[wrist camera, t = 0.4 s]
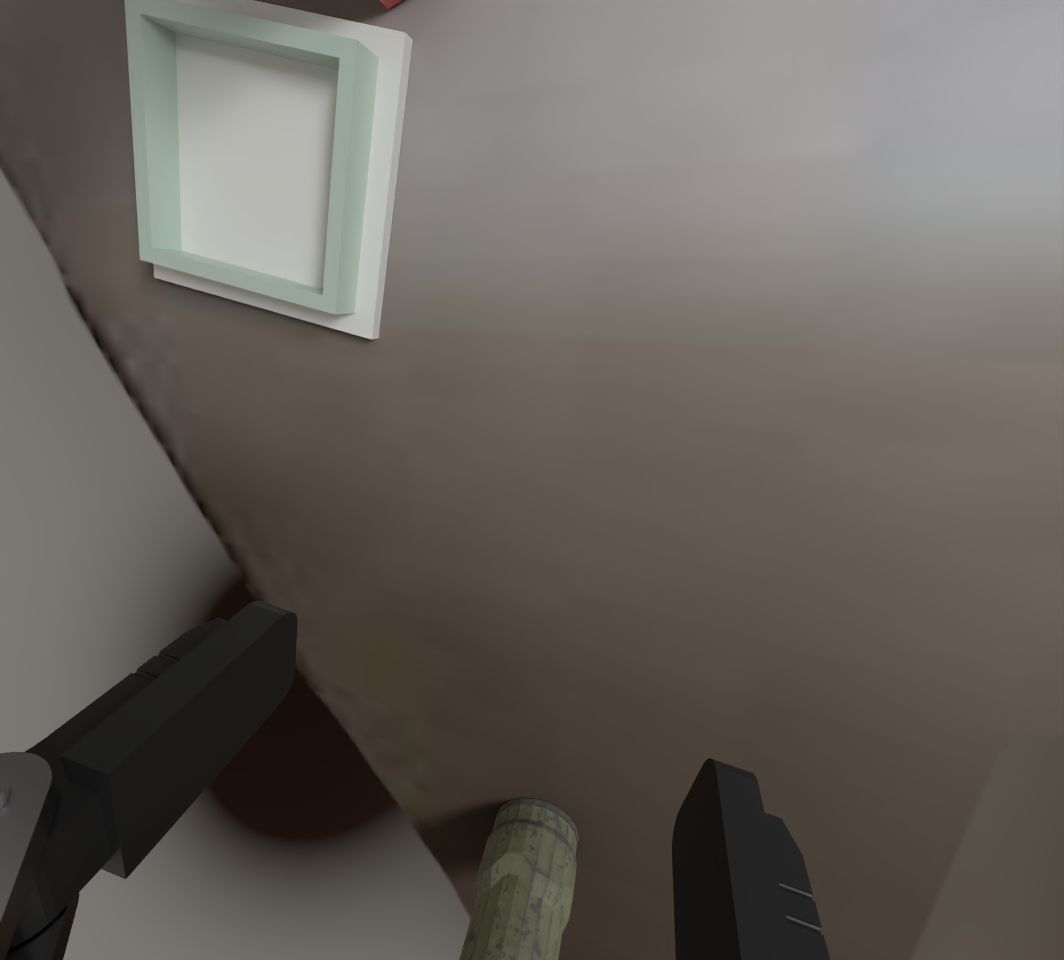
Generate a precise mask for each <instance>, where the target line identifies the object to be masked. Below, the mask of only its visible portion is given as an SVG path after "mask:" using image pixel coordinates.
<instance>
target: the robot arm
mask: <svg viewBox="0 0 1064 960" xmlns="http://www.w3.org/2000/svg"><path fill="white" fill-rule="evenodd" d="M296 640H297V616H296V614H295V613H293V612H290V611H287V610H284V609H281V608H278V607H275V606H273V605H270V604H267V603H264V602H261V601H255V602H252V603H250V604H249V605H248V606H246V607H245V608H244V609H242V610H241V611H240V612H239V613H237V614H236V615H235V616H234V617H233V618H231V619H230V620H229V621H226V620H223V619H220V618H218V619H215V620H213V621H210V622H208V623H206V624H203V625H201V626H199V627H196V628H194V629H191V630H189V631H187V632H185V633H184V634H183V635H181V636H180V637H179V638H178V639H176V640H175V641H174V642H172V643H171V644H169V645H168V646H167V647H166V648H164V649H163V650H161V651H160V653H159V655H158V656H154V657H152V658H151V659H150V660H148V661H147V662H146V663H144V664H143V665H142V666H140V667H139V668H138V669H137V671H136V673H134V674H132V673H131V674H130V675H128V676H127V677H126V678H124V679H123V680H122V681H120V682H119V683H118V684H117V685H115V686H114V687H112V688H111V689H110V690H108V691H107V692H106V693H105V694H103V695H102V696H101V697H99V698H98V699H97V700H95V701H94V702H93V703H91V704H90V705H89V706H87V707H86V708H85V709H83V710H82V711H81V712H79V713H78V714H77V715H75V716H74V717H73V718H71V719H70V720H69V721H67V722H66V723H65V724H63V725H62V726H61V727H60V728H58V729H57V730H55V731H54V732H53V733H51V734H50V735H49V736H48V737H46V738H45V739H44V740H42V741H41V742H39V743H38V744H36V745H35V746H34V747H32V748H30V749H29V750H27V751H25V752H9V753H0V960H63V958H64V954H65V950H66V947H67V943H68V939H69V936H70V932H71V928H72V924H73V921H74V917H75V913H76V909H77V905H78V900H79V892H80V890H81V889H82V888H83V887H84V886H85V885H86V884H87V883H88V882H89V881H90V880H91V879H92V878H93V877H94V875H95V874H96V873H97V872H98V871H99V870H100V869H103V870H105V871H108V872H110V873H112V874H115V875H117V876H120V877H122V878H124V879H126V878H127V877H128V876H129V875H130V874H131V873H132V872H133V871H134V869H135V868H136V867H137V866H138V865H139V864H140V863H141V861H142V860H143V859H144V858H145V856H147V855H148V853H149V852H150V851H151V850H152V849H153V848H154V847H155V845H156V844H157V843H158V842H159V841H160V840H161V839H162V837H163V836H164V835H165V834H166V833H167V832H168V831H169V829H170V828H171V827H172V826H173V825H174V824H175V822H176V821H177V820H178V819H179V818H180V817H181V816H182V815H183V814H184V812H185V811H186V810H187V809H188V808H189V807H190V805H191V804H192V803H193V802H194V801H195V800H196V799H197V798H198V796H199V795H200V794H201V793H202V792H203V791H204V790H205V789H206V787H207V786H208V785H209V784H210V783H211V782H212V781H213V779H214V778H215V777H216V776H217V775H218V774H219V773H220V771H221V770H222V769H223V768H224V767H225V766H226V765H227V763H228V762H229V761H230V760H231V759H232V758H233V757H234V755H235V754H236V753H237V752H238V751H239V750H240V749H241V748H242V746H243V745H244V744H245V743H246V742H247V741H248V740H249V738H250V737H251V736H252V735H253V734H254V733H255V732H256V730H257V729H258V728H259V727H260V726H261V725H262V723H263V722H264V721H265V720H266V719H267V718H268V716H270V714H271V713H272V712H273V711H274V710H275V709H276V708H277V707H278V705H279V704H280V703H281V702H282V700H283V699H284V697H285V696H286V694H287V692H288V690H289V688H290V686H291V684H292V681H293V678H294V674H295V663H296ZM672 866H673V894H674V922H675V950H676V960H830V958H829V954H828V950H827V946H826V942H825V939H824V935H821V931H820V930H821V923H820V920H819V916H818V912H817V908H816V904H815V901H812V894H813V893H812V889H811V885H810V882H809V878H808V874H807V870H806V866H805V863H804V859H803V855H802V853H801V852H800V850H799V848H798V846H797V845H796V843H795V841H794V839H793V838H792V836H791V834H790V832H789V831H788V829H787V827H786V826H785V824H784V822H783V820H782V819H781V818H778V817H776V816H773V815H770V814H767V813H764V808H763V803H762V799H761V794H760V789H759V785H758V781H757V779H756V777H755V775H754V774H753V773H751V772H748V771H745V770H743V769H740V768H737V767H734V766H731V765H728V764H725V763H722V762H719V761H716V760H714V759H711V758H709V759H707V760H706V761H705V762H704V764H703V766H702V768H701V769H700V771H699V773H698V775H697V777H696V779H695V781H694V783H693V785H692V787H691V789H690V791H689V792H688V794H687V796H686V798H685V800H684V802H683V804H682V806H681V808H680V810H679V812H678V815H677V818H676V822H675V826H674V831H673V840H672Z"/></svg>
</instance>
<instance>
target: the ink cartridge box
mask: <svg viewBox="0 0 1064 960" xmlns="http://www.w3.org/2000/svg"><path fill="white" fill-rule="evenodd" d="M379 1H380V2H381V3H382V4H383V5H384V6H385V7H386V8H387V9H390V8H391V7H392V6H394V5H396V4H397V3H399V2H401V1H402V0H379Z"/></svg>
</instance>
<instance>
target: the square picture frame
mask: <svg viewBox="0 0 1064 960" xmlns="http://www.w3.org/2000/svg"><path fill="white" fill-rule="evenodd" d="M125 16H126V32H127V49H128V66H129V83H130V100H131V116H132V133H133V150H134V167H135V184H136V200H137V217H138V234H139V251H140V260H143V261H147V262H150V263H153V266H154V278H157V279H161V280H164V281H168V282H171V283H175V284H178V285H182V286H185V287H189V288H192V289H196V290H199V291H203V292H206V293H210V294H213V295H217V296H220V297H224V298H227V299H231V300H235V301H238V302H242V303H245V304H249V305H252V306H256V307H259V308H263V309H266V310H270V311H273V312H277V313H280V314H284V315H287V316H291V317H294V318H298V319H301V320H305V321H308V322H312V323H315V324H319V325H322V326H326V327H329V328H333V329H336V330H340V331H343V332H347V333H350V334H354V335H357V336H361V337H364V338H368V339H371V340H372V339H378V338H379V329H380V320H381V312H382V303H383V294H384V286H385V277H386V268H387V260H388V251H389V242H390V233H391V225H392V216H393V207H394V199H395V190H396V181H397V173H398V164H399V155H400V147H401V138H402V129H403V121H404V112H405V103H406V95H407V86H408V77H409V69H410V60H411V51H412V43H413V40H412V39H411V38H410V37H409V36H408V35H407V34H406V33H405V32H400V31H396V30H391V29H386V28H382V27H377V26H372V25H368V24H363V23H358V22H354V21H349V20H344V19H340V18H335V17H330V16H325V15H321V14H316V13H311V12H307V11H302V10H297V9H293V8H288V7H283V6H279V5H274V4H269V3H264V2H260V1H255V0H125Z"/></svg>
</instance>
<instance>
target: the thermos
mask: <svg viewBox="0 0 1064 960" xmlns="http://www.w3.org/2000/svg"><path fill="white" fill-rule="evenodd" d="M578 839H579V836H578V832H577V827H576V826H575V824H574V823H573V821H572V819H571V818H570V817H569V816H568V815H567V814H566V813H565V812H563V811H562V810H561V809H560V808H558V807H556V806H554V805H552V804H551V803H549V802H546V801H542V800H539V799H535V798H519V799H514V800H510V801H509V802H507V803H505V804H504V805H502V806H501V808H500V809H499V811H498V812H497V814H496V818H495V824H494V827H493V831H492V832H491V834H490V835H489V837H488V839H487V843H486V846H485V850H484V853H483V857H482V860H481V863H480V867H479V870H478V874H477V877H476V903H475V906H474V910H473V913H472V917H471V920H470V924H469V928H468V931H467V935H466V938H465V942H464V945H463V949H462V952H461V956H460V960H558V958H559V951H560V943H561V936H562V933H563V931H564V929H565V927H566V925H567V923H568V921H569V917H570V911H571V905H572V899H573V892H574V884H575V876H576V868H577V862H576V858H575V856H576V850H577V845H578Z"/></svg>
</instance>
